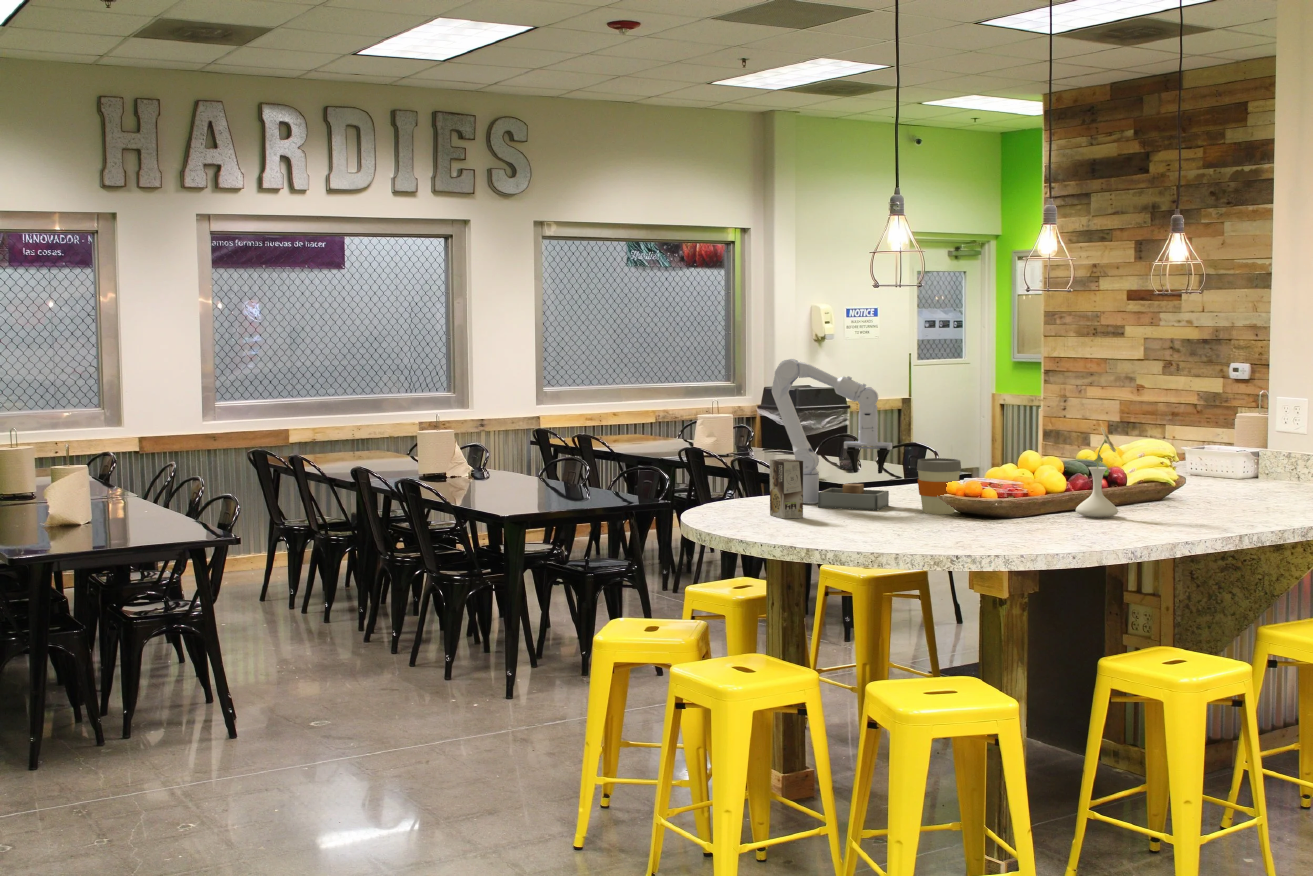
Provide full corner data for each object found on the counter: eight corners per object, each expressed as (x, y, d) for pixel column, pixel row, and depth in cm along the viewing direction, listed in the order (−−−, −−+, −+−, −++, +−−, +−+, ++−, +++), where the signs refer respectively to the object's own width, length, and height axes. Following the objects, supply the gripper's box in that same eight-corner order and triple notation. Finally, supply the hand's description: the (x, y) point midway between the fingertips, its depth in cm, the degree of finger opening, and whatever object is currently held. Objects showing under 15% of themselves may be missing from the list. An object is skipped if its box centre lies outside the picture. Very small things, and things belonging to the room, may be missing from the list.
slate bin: (818, 507, 401) (818, 492, 400) (830, 502, 412) (830, 488, 411) (877, 510, 393) (877, 495, 393) (888, 505, 404) (888, 490, 404)
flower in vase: (1110, 520, 370) (1112, 429, 368) (1069, 517, 376) (1071, 428, 375) (1125, 515, 380) (1127, 426, 378) (1085, 512, 387) (1087, 425, 385)
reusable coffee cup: (964, 514, 383) (965, 462, 382) (920, 515, 383) (920, 462, 382) (955, 509, 396) (956, 458, 394) (912, 509, 396) (913, 458, 395)
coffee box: (804, 518, 379) (804, 460, 378) (783, 519, 376) (783, 461, 375) (789, 514, 387) (789, 457, 386) (768, 515, 385) (768, 458, 384)
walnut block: (842, 505, 401) (842, 485, 400) (847, 503, 405) (847, 483, 405) (858, 506, 399) (859, 485, 398) (863, 504, 403) (863, 484, 403)
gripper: (840, 428, 406) (840, 473, 407) (887, 429, 400) (887, 475, 401) (847, 426, 413) (847, 470, 414) (894, 427, 406) (894, 472, 407)
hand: (867, 472), depth 408 cm, fingers open, 7 cm apart
